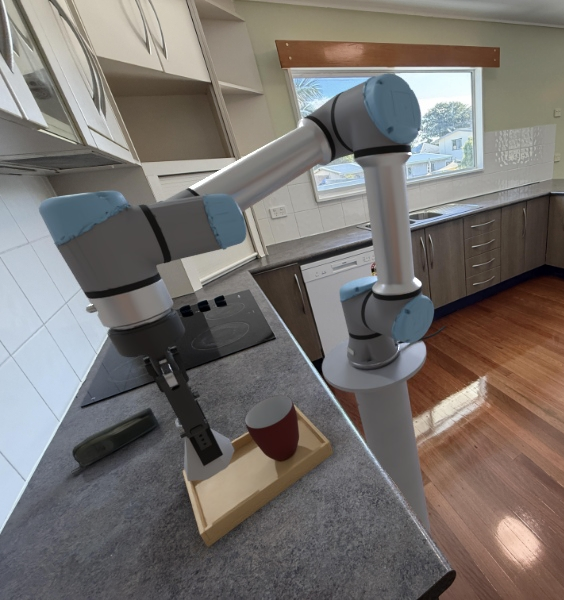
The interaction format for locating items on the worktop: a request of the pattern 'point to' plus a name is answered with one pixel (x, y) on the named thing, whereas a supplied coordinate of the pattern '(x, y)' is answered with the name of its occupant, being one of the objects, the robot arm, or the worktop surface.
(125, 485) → the worktop surface
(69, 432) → the worktop surface
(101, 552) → the worktop surface
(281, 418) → the mug
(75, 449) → the dark green pencil case
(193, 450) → the flask
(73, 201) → the robot arm
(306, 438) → the tray
